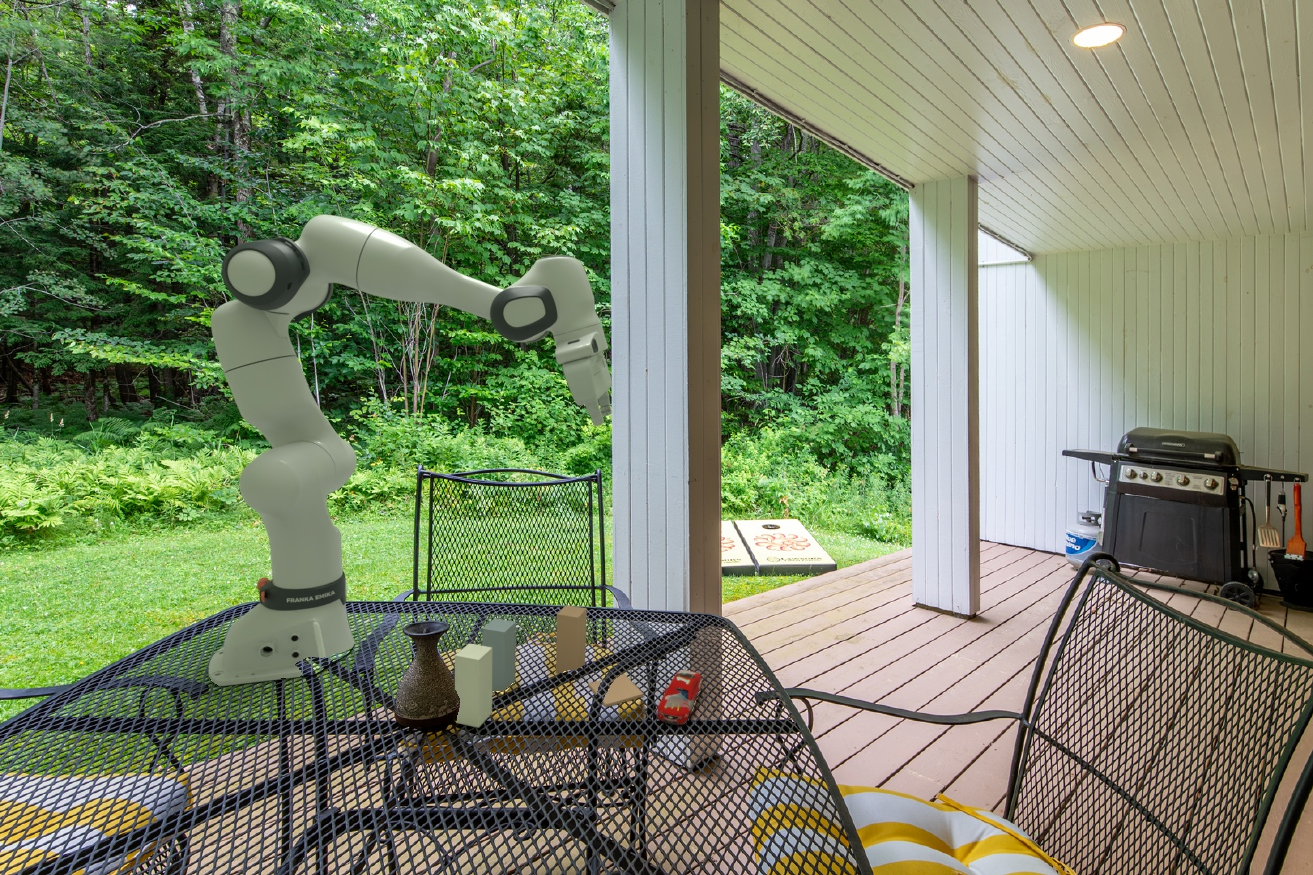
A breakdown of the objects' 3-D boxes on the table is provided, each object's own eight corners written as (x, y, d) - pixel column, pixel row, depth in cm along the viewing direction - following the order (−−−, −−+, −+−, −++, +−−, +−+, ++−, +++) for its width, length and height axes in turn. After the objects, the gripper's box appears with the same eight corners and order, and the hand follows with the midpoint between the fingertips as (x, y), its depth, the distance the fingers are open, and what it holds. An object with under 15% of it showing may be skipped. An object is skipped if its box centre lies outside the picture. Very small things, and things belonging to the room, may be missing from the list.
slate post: (503, 694, 105) (504, 632, 103) (482, 690, 106) (482, 628, 104) (515, 682, 109) (515, 622, 107) (494, 678, 110) (494, 618, 108)
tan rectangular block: (576, 676, 111) (578, 617, 110) (555, 672, 112) (556, 614, 111) (585, 665, 115) (586, 608, 113) (564, 661, 116) (565, 605, 114)
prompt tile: (605, 707, 103) (605, 704, 102) (587, 686, 108) (588, 683, 108) (643, 696, 106) (643, 693, 106) (624, 676, 112) (624, 674, 112)
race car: (685, 732, 97) (686, 708, 97) (652, 724, 99) (653, 700, 98) (706, 688, 110) (707, 667, 109) (676, 682, 111) (677, 661, 111)
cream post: (478, 727, 96) (478, 660, 94) (455, 722, 97) (454, 655, 95) (491, 713, 100) (492, 647, 98) (469, 708, 101) (469, 643, 99)
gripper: (576, 346, 123) (596, 413, 126) (552, 355, 104) (576, 435, 106) (607, 337, 123) (626, 406, 125) (588, 345, 103) (612, 426, 105)
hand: (603, 419), depth 116 cm, fingers open, 8 cm apart
